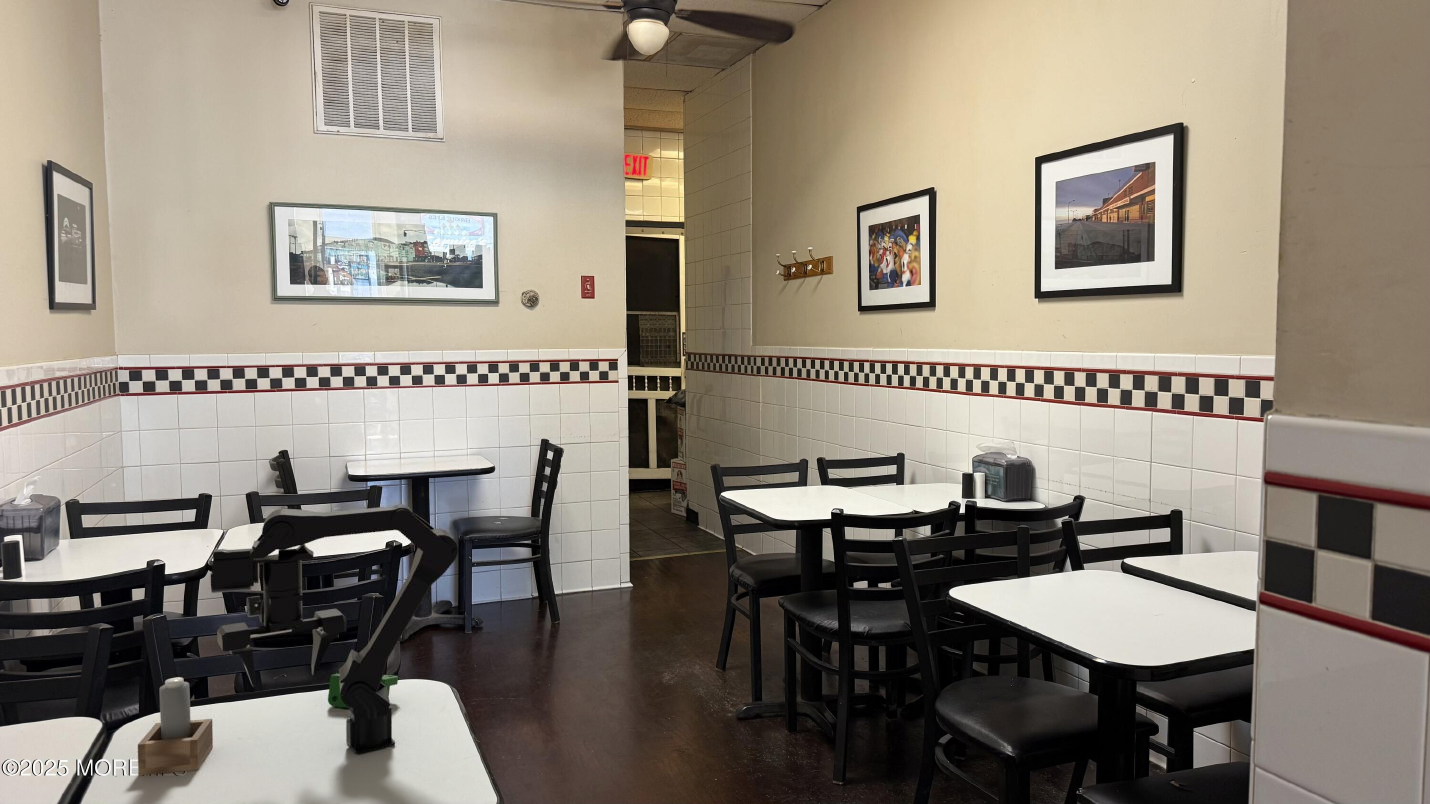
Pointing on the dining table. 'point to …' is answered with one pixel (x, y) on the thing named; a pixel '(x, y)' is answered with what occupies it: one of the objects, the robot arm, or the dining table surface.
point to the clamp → (334, 688)
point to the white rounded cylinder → (175, 709)
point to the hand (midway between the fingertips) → (284, 679)
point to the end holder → (175, 750)
